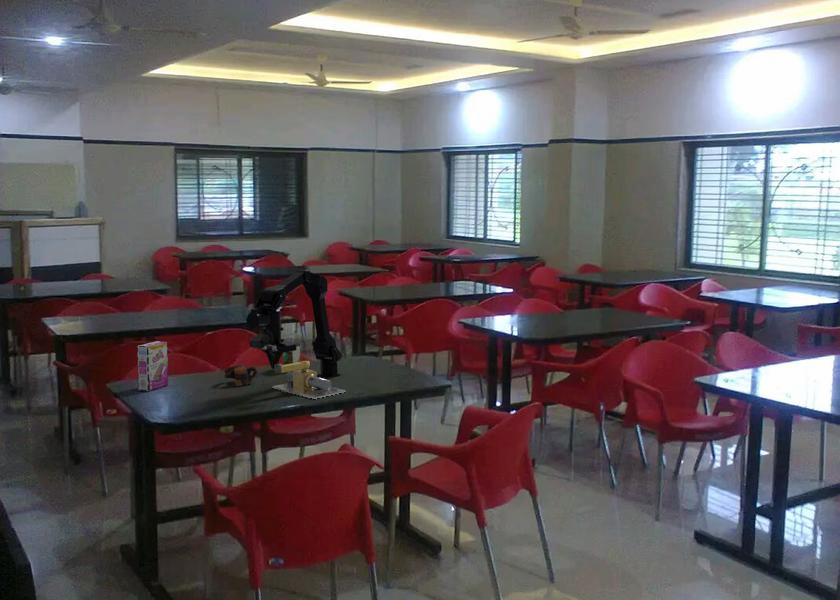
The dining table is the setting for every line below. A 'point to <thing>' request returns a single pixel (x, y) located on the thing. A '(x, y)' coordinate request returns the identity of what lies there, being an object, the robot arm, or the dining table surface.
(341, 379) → the dining table surface
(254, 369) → the pottery mug
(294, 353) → the food container
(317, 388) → the valve pipe
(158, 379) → the candy bar box
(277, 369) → the lever
